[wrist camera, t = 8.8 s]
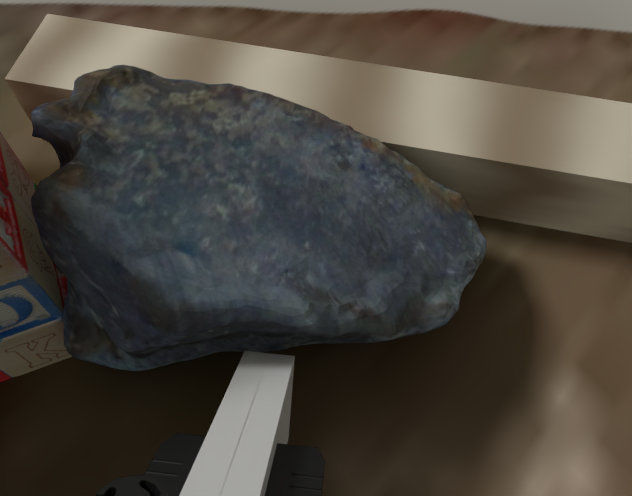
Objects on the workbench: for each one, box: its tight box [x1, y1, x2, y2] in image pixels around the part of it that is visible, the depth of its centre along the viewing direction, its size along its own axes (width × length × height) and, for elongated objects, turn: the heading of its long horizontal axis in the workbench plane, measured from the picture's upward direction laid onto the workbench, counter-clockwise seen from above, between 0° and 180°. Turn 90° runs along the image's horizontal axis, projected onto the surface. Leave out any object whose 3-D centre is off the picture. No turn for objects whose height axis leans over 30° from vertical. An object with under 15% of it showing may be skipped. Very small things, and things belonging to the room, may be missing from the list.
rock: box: [31, 65, 486, 371], centre depth 21 cm, size 16×8×10 cm
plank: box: [5, 14, 632, 243], centre depth 24 cm, size 28×4×4 cm, turn 78°
